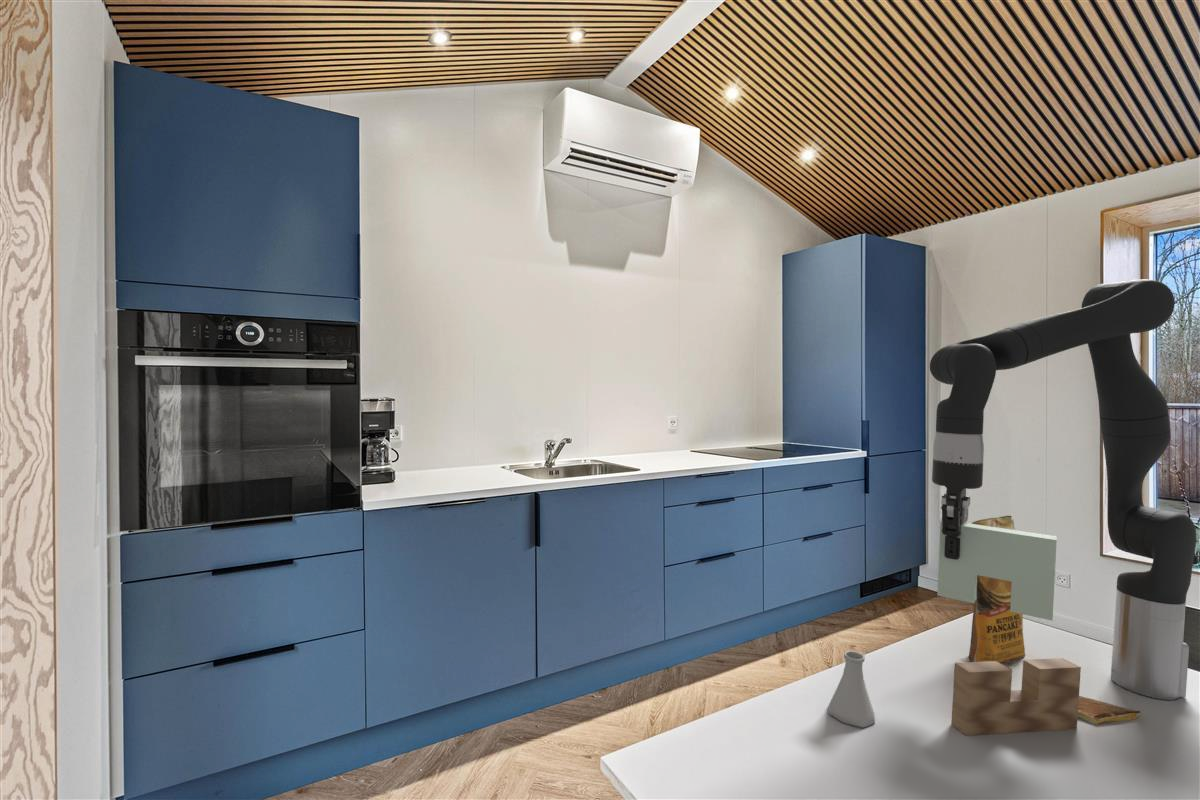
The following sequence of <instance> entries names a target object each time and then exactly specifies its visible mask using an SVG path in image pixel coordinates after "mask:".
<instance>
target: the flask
mask: <svg viewBox="0 0 1200 800" xmlns="http://www.w3.org/2000/svg"><path fill="white" fill-rule="evenodd" d="M865 656H866V655H864V654H863V653H861V652H859V651H855V650H851V649H850V650H845V651H844V653H843V658H844V659H845V665H844V669H843V673H842V676H841V678H840V680H839V683H838V685H837V687H836V689H835V691H834V694H833V695H832V698H831V699H830V701H829V704H828V710H827V714H829V715H831V716H832V717H833V718H835V719H836V720H839V722H842V723H844V724H848V725H851V726H855V727H858V728H862V729H863V728H867V727H868V726H871V725H873V724H875V711H874V708H873V704H872V702H871V699H870V696H869V693H868V690H867V686H866V685H867V684H866V683H865V679H864V672H863V671H864V670H863V663H864V662H865V660H866V659H865V658H866V657H865Z"/></svg>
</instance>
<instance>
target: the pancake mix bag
mask: <svg viewBox="0 0 1200 800" xmlns="http://www.w3.org/2000/svg"><path fill="white" fill-rule="evenodd" d="M1014 523H1015V522H1014V519H1013V518H1012V515H1004V516H999V517H988V518H983V519H979V520H975V521H972V522H971V524H976V525H983V526H990V527H997V528H1004V529H1011V530H1016V529H1015V524H1014ZM1011 584H1012V582H1011V581H1006V580H1001V579H995V578H990V577H985V576H980V575H977V592H976V600H975V603H973V610H972V611H973V613H972V621H971V634H970V635H971V636H970V645H969V646H970V647H969V652H968V658H969V661H970V662H985V661H997V662H999V663H1000V664H1004V663H1007V662H1011V661H1014V660H1018V659H1020V658H1023V656H1024V657H1025V656H1026V650H1025V649H1026V647H1025V641H1024V640H1025V639H1024V632H1023V631H1024V625H1023V624H1024V623H1023V622H1024V621H1023V619H1024V618H1023V615H1024V614H1020V613H1015V612H1011V611H1010V605H1011Z"/></svg>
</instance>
